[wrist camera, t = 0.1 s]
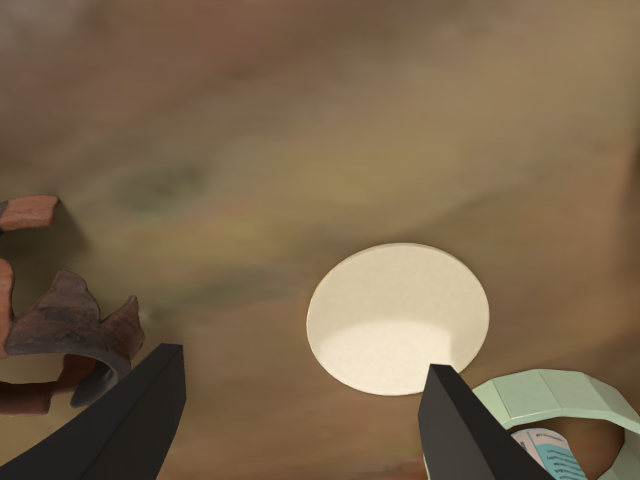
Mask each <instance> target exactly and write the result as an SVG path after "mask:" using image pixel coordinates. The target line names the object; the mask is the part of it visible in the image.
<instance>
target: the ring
mask: <svg viewBox="0 0 640 480" xmlns="http://www.w3.org/2000/svg"><path fill="white" fill-rule="evenodd" d="M472 391H473V392H474V394H475V395H476V396H477V397H478V398H479V400H480V401H481V402H482V403H483V404H484V406H485V407H486V408H487V409H488V410H489V411H490V413H491V414H492V415H493V416H494V417H495V418H496V419H497V421H498V422H499V423H500V424H501V425H502V426H503V427H504V428H505V429H506V430H507V429H509V428H511V427H513V426H515V425H520V424H525V423H530V422H535V421H540V420H544V419H549V418H554V417H559V416H566V417H580V418H593V419H606V420H609V421H611V422H613V423H615V424H617V425H620V426H622V427H624V432H625V443H624V445H623V446H622V448H621V450H620V452H619V454H618V456H617V457H616V459H615V461H614V463H613V465H612V467H611V468H610V469H609V470H607V471H606V472H605V473H604V474H603V475H601V476H600V477H599V478H598V479H597V480H640V417H639V415H638V414H637V413H636V412H635V411H634V409H633V408H632V407H631V406H630V405H629V403H628V402H627V401H626V400H625V399H624V397H623V396H622V395H621V394H620V393H619V391H618V390H617V389H616V388H614V387H612V386H610V385H608V384H606V383H603V382H601V381H599V380H597V379H595V378H593V377H591V376H588V375H586V374H584V373H582V372H577V371H563V370H550V369H533V370H528V371H524V372H519V373H515V374H510V375H506V376H501V377H497V378H493V379H490V380H489V381H487V382H485V383H483V384H481V385H480V386H478V387H476V388H474V389H473V390H472ZM423 455H424V454H423ZM423 457H424V456H423ZM424 461H425V457H424ZM425 466H426V470H427V474H428V479H429V480H430V476H429V472H428V468H427V464H426V461H425Z"/></svg>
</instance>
